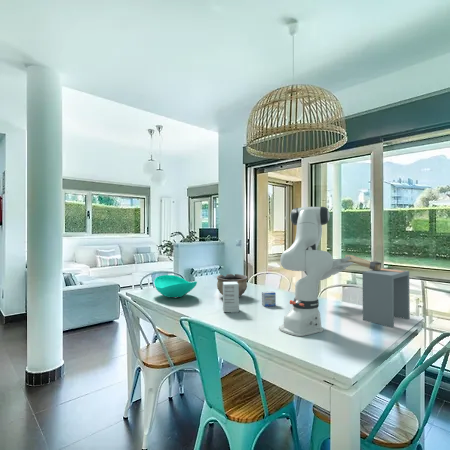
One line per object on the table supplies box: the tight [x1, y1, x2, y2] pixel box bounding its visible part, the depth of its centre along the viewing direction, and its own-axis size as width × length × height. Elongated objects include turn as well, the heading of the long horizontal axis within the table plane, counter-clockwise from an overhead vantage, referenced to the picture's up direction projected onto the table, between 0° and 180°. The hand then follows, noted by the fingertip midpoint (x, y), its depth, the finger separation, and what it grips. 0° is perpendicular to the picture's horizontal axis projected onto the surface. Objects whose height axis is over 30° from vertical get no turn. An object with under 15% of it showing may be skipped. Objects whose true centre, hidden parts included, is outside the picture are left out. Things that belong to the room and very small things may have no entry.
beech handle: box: [344, 254, 382, 270], centre depth 177 cm, size 5×22×4 cm, turn 23°
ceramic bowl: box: [216, 273, 248, 297], centre depth 217 cm, size 22×22×15 cm
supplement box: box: [222, 282, 240, 313], centre depth 182 cm, size 10×9×17 cm
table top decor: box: [153, 274, 198, 298], centre depth 218 cm, size 40×28×13 cm
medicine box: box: [261, 291, 277, 308], centre depth 193 cm, size 8×4×9 cm, turn 105°
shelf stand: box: [362, 267, 411, 328], centre depth 163 cm, size 22×15×26 cm
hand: (352, 257), depth 183 cm, fingers closed on beech handle, 5 cm apart
